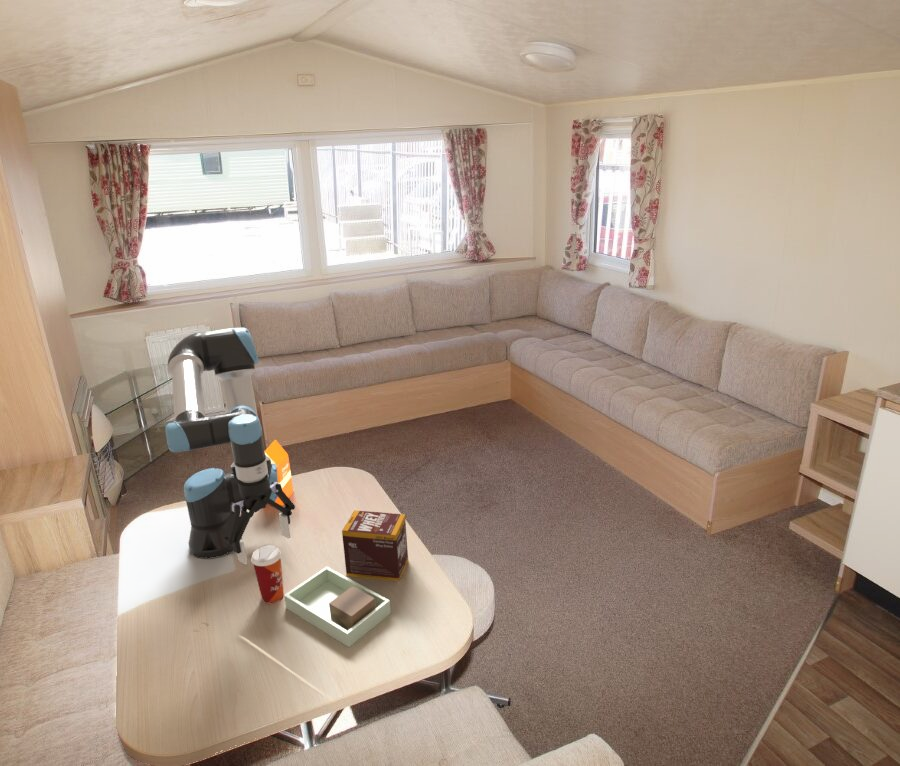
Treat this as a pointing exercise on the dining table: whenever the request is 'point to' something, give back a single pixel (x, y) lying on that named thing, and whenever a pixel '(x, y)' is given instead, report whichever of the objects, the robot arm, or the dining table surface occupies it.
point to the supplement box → (375, 545)
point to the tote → (314, 607)
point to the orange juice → (281, 468)
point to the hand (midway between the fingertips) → (265, 548)
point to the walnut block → (351, 607)
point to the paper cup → (268, 573)
